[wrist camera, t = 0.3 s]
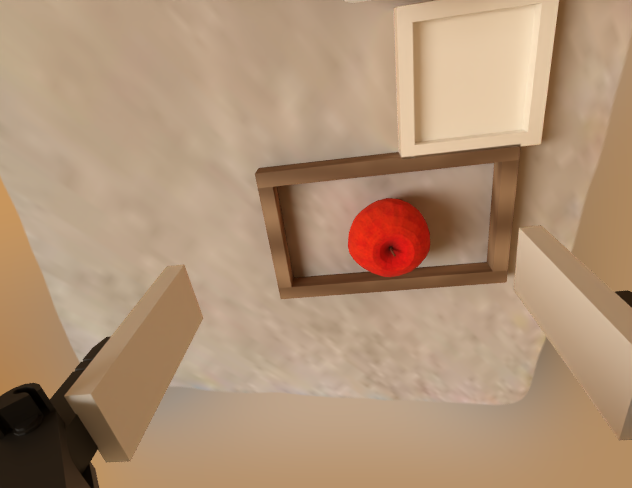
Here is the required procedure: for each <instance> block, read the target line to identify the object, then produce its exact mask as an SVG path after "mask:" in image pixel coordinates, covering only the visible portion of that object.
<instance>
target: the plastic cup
mask: <svg viewBox="0 0 632 488" xmlns="http://www.w3.org/2000/svg"><path fill="white" fill-rule="evenodd" d="M343 1H347V2H350V3H356V2H363V1H369V0H343Z"/></svg>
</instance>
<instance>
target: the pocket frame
mask: <svg viewBox="0 0 632 488" xmlns="http://www.w3.org/2000/svg"><path fill="white" fill-rule="evenodd" d="M517 145H518V144H517ZM519 145H521V144H519ZM509 146H514V145H509ZM509 146H507V145H506V147H508V148H506V147H505V146H499V147H498V149H497V148H496V147H497V146H496V147H494V149H493V147H492V149H493V150H489V149H490V148H491V147H490V148H489V147H488V148H485V150H484V151H483V149H484V148H483V149H482V148H481V149H482V150H481V151H480V150H476V149H473V151H472V150H471V149H470V150H466V151H465V150H463V151H461V152H463V153H460V151H459V153H458V152H455V151H452V152H451V153H450V152H448V153H449V155H448V154H447V155H446V152H443V153H445V154H443V155H441V153H439V154H438V153H437V155H436V153H435V154H434V155H433V154H431V156H429V155H430V154H426V155H428V156H424V155H422V157H420V156H421V155H419V158H418V157H417V156H415V157H414V159H413V158H411V159H409V157H411V156H408V158H407V157H404V158H403V157H402V158H401V156H400V154H399V152H396V153H387V154H378V155H370V156H361V157H352V158H344V159H335V160H326V161H317V162H309V163H300V164H291V165H282V166H274V167H265V168H259V169H258V170H257V172H256V173H255V177H256V182H257V186H258V191H259V196H260V201H261V206H262V210H263V215H264V220H265V225H266V230H267V235H268V239H269V244H270V249H271V254H272V259H273V263H274V268H275V273H276V278H277V283H278V288H279V292H280V297H281V299H288V298H302V297H315V296H329V295H342V294H356V293H369V292H382V291H396V290H409V289H423V288H436V287H450V286H463V285H476V284H490V283H503V282H506V281H507V272H508V262H509V252H510V243H511V233H512V224H513V214H514V205H515V195H516V185H517V176H518V166H519V157H520V147H521V146H517V147H516V145H515V146H514V147H511V148H510V147H509ZM500 147H503V148H501V149H499V148H500ZM504 147H505V148H504ZM495 148H496V149H495ZM479 149H480V148H479ZM475 150H476V151H475ZM464 151H465V152H466V153H465V152H464ZM467 151H468V152H467ZM469 151H470V152H469ZM471 151H472V152H471ZM454 152H455V153H454ZM452 153H454V154H452ZM457 153H458V154H457ZM438 155H439V156H438ZM412 157H413V156H412ZM405 158H406V159H405ZM403 159H405V160H403ZM486 163H494V174H493V187H492V200H491V213H490V226H489V240H488V253H487V262H485V263H472V264H460V265H448V266H435V267H423V268H415V269H414V270H412V271H411V272H409V273H406V274H403V275H400V276H395V277H383V276H380V275H377V274H374V273H371V272H361V273H348V274H336V275H323V276H311V277H299V278H293V272H292V267H291V261H290V256H289V251H288V245H287V240H286V234H285V229H284V223H283V218H282V213H281V207H280V202H279V196H278V191H277V186H284V185H293V184H302V183H311V182H320V181H330V180H339V179H348V178H357V177H366V176H376V175H385V174H394V173H403V172H412V171H422V170H431V169H440V168H449V167H458V166H468V165H477V164H486Z"/></svg>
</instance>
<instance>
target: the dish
mask: <svg viewBox="0 0 632 488" xmlns="http://www.w3.org/2000/svg"><path fill="white" fill-rule="evenodd" d="M558 5H559V0H437V1H431V2H424V3H418V4H412V5H405V6H399V7H396V8H394V37H395V64H396V92H397V120H398V148H399V154H400V156H401V158H402V157H403V158H404V157H407V158H408V156H411V157H409V159H411V158H413V159H414V157H415V156H417V157H418V158H419V155H421V156H420V157H422V155H424V156H428V155H426V154H430V155H429V156H431V154H433V155H434V154H435V153H436V155H437V153H438V154H439V153H441V155H443V154H445V153H443V152H446V155H447V154H448V155H449V153H448V152H450V153H451V152H452V151H455V152H458V153H459V151H460V153H463V152H461V151H463V150H465V151H466V150H470V149H471V150H472V151H473V149H476V150H480V151H481V150H482V149H483V148H484V149H483V151H484V150H485V148H488V147H489V148H490V147H491V148H490V149H489V150H493V149H494V147H496V146H497V147H496V148H497V149H498V147H499V146H505V147H506V145H507V146H509V145H514V146H515V145H516V147H517V146H529V145H538V144H541V138H542V130H543V123H544V115H545V107H546V99H547V91H548V83H549V75H550V68H551V60H552V52H553V44H554V36H555V28H556V21H557V13H558ZM517 144H518V145H517ZM519 144H521V145H519ZM514 146H509V147H510V148H511V147H514ZM492 147H493V149H492ZM505 147H504V148H505ZM479 148H480V149H479ZM481 148H482V149H481ZM496 148H495V149H496ZM501 148H503V147H500V148H499V149H501ZM506 148H508V147H506ZM476 150H475V151H476ZM465 151H464V152H465ZM472 151H471V152H472ZM455 152H454V153H455ZM467 152H468V151H467ZM469 152H470V151H469ZM454 153H452V154H454ZM458 153H457V154H458ZM465 153H466V152H465ZM412 156H413V157H412ZM438 156H439V155H438ZM405 159H406V158H405ZM405 159H403V160H405Z"/></svg>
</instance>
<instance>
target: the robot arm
mask: <svg viewBox="0 0 632 488" xmlns="http://www.w3.org/2000/svg"><path fill="white" fill-rule="evenodd" d="M514 291H515V292H516V294H517V295H518V297H519V298H520V299H521V301H522V302H523V304H524V305H525V307H526V308H527V309H528V311H529V312H530V314H531V315H532V317H533V318H534V319H535V321H536V322H537V324H538V325H539V327H540V328H541V329H542V331H543V332H544V334H545V335H546V337H547V338H548V339H549V341H550V342H551V344H552V345H553V347H554V348H555V349H556V351H557V352H558V354H559V355H560V357H561V358H562V359H563V361H564V362H565V364H566V365H567V367H568V368H569V370H570V371H571V372H572V374H573V375H574V377H575V378H576V380H577V381H578V382H579V384H580V385H581V387H582V388H583V390H584V391H585V392H586V394H587V395H588V397H589V398H590V400H591V401H592V402H593V404H594V405H595V407H596V408H597V410H598V411H599V412H600V414H601V415H602V417H603V418H604V420H605V421H606V422H607V424H608V425H609V427H610V428H611V430H612V431H613V432H614V434H615V435H616V436H617V438H618V439H619V440H632V292H630V291H617V292H614V291H613V290H611V289H610V288H609V287H608V286H607V285H606V284H605V283H604V282H603V281H602V280H601V279H600V278H598V277H597V276H596V275H595V274H594V273H593V272H592V271H591V270H590V269H589V268H587V267H586V266H585V265H584V264H583V263H582V262H581V261H580V260H579V259H577V258H576V257H575V256H574V255H573V254H572V253H571V252H570V251H569V250H568V249H567V248H565V247H564V246H563V245H562V244H561V243H560V242H559V241H558V240H557V239H556V238H554V237H553V236H552V235H551V234H550V233H549V232H548V231H547V230H546V229H545V228H543V227H542V226H541V225H540V226H531V227H522V228H519V235H518V246H517V258H516V269H515V280H514ZM202 319H203V316H202V313H201V310H200V307H199V305H198V302H197V299H196V296H195V293H194V291H193V288H192V285H191V282H190V279H189V277H188V274H187V271H186V268H185V266H184V265H176V266H167V267H166V268H165V269H164V271H163V272H162V273H161V274H160V276H159V277H158V278H157V279H156V281H155V282H154V283H153V284H152V286H151V287H150V288H149V289H148V291H147V292H146V293H145V295H144V296H143V297H142V298H141V300H140V301H139V302H138V303H137V305H136V306H135V307H134V308H133V310H132V311H131V312H130V313H129V315H128V316H127V317H126V318H125V320H124V321H123V322H122V324H121V325H120V326H119V327H118V329H117V330H116V331H115V332H114V334H113V335H112V336H111V337H106V338H105V339H103V340H102V341H101V342H99V343H98V344H97V345H96V346H94V347H93V348H92V349H91V350H90V352H89V353H88V354H87V355H86V356H85V358H84V359H83V362H81V363H80V364H79V365H78V366H77V367H76V369H75V372H72V373H71V375H70V376H69V377H68V378H67V380H66V381H65V382H64V383H63V384H62V386H61V387H60V388H59V389H58V390H57V392H56V393H55V394H54V395H53V397H52V398H51V399H50V400H49V398H48V397H47V395H46V394H45V392H44V391H43V389H42V388H41V386H40V385H39V384H36V383H30V384H24V385H21V386H19V387H16V388H13V389H11V390H10V391H8V392H6V393H4V394H3V395H2V396H0V488H99V485H98V480H97V475H96V471H95V468H94V467H93V465H92V463H91V462H90V461H91V460H92V458H93V456H94V455H95V453H96V451H97V450H99V452H100V453H101V455H102V457H103V458H104V460H105V461H106V462H123V461H130V460H131V459H132V457H133V454H134V453H135V451H136V449H137V447H138V445H139V443H140V441H141V439H142V437H143V435H144V433H145V431H146V429H147V427H148V425H149V423H150V421H151V419H152V417H153V415H154V413H155V411H156V410H157V408H158V406H159V404H160V401H161V400H162V398H163V396H164V394H165V392H166V390H167V388H168V386H169V384H170V382H171V380H172V378H173V376H174V374H175V372H176V370H177V368H178V366H179V364H180V362H181V361H182V359H183V357H184V355H185V353H186V351H187V349H188V347H189V345H190V343H191V341H192V339H193V337H194V335H195V333H196V331H197V329H198V327H199V325H200V323H201V321H202Z"/></svg>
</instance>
